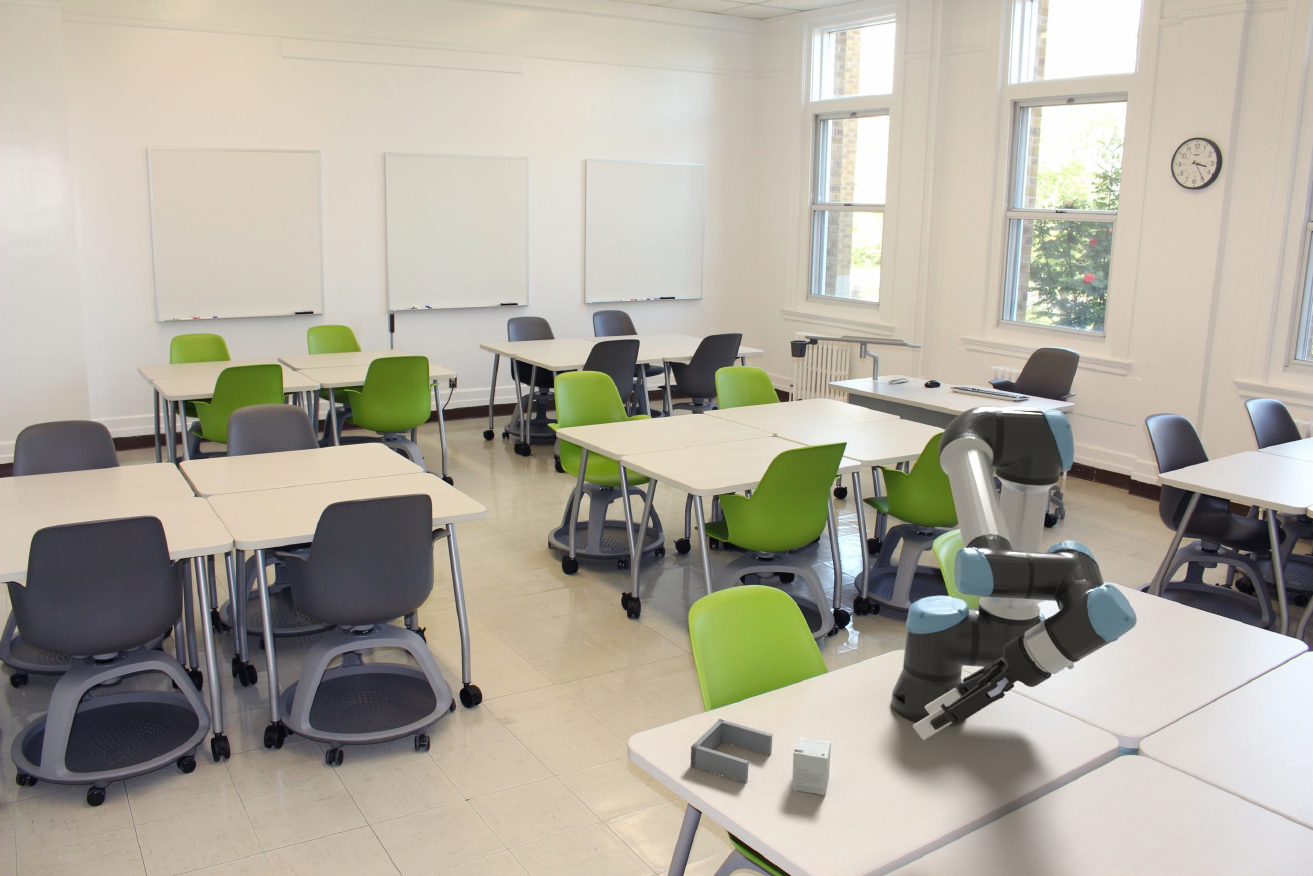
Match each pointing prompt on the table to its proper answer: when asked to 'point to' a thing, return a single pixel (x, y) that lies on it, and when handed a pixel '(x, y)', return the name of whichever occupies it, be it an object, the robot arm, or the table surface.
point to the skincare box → (811, 766)
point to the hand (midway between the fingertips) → (924, 722)
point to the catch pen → (723, 762)
